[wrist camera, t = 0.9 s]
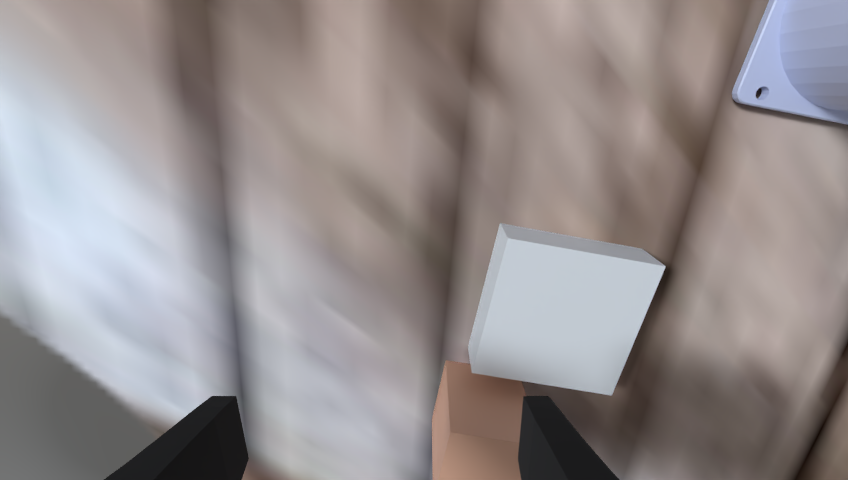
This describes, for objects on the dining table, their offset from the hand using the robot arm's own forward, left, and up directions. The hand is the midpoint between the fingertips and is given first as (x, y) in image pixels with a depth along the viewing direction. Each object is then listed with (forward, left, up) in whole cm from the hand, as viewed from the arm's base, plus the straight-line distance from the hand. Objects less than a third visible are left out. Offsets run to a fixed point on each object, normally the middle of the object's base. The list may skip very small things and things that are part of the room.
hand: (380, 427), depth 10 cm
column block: (-5, +7, -10) cm, 14 cm away
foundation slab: (-8, +1, -11) cm, 13 cm away
